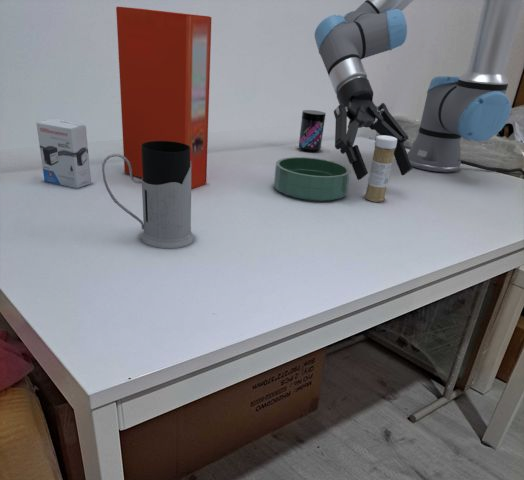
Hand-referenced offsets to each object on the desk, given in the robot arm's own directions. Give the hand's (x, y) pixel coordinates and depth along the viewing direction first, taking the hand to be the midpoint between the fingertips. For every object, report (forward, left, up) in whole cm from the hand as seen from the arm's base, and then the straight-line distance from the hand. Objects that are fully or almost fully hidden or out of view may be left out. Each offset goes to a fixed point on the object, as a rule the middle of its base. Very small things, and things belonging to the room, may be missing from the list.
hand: (385, 174), depth 114 cm
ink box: (+65, -18, -6) cm, 68 cm away
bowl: (+13, -9, -6) cm, 17 cm away
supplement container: (-4, -48, -6) cm, 49 cm away
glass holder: (+53, +15, -6) cm, 56 cm away
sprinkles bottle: (0, -2, -6) cm, 7 cm away
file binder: (+44, -20, -6) cm, 49 cm away
